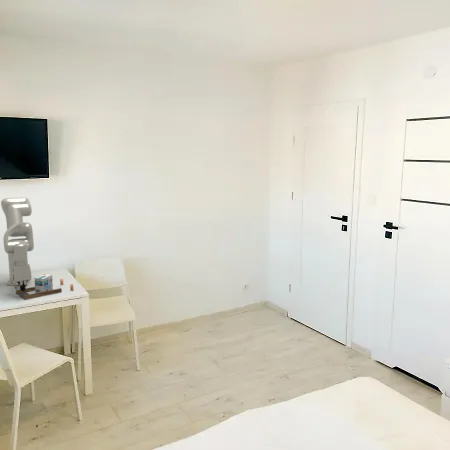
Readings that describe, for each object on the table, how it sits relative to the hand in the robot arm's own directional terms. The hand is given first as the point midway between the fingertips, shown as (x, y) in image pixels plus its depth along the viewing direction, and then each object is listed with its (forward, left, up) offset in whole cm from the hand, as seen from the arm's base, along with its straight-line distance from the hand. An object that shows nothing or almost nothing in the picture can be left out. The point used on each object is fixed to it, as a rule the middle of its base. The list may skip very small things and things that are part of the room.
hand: (22, 290), depth 293 cm
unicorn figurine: (-18, +7, -4) cm, 20 cm away
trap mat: (0, +1, -4) cm, 4 cm away
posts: (0, +29, -4) cm, 29 cm away
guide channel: (0, +10, -4) cm, 11 cm away
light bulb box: (0, +14, -4) cm, 14 cm away
